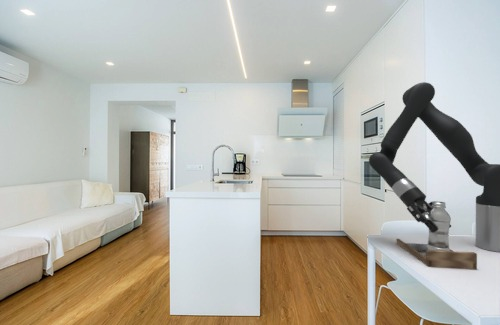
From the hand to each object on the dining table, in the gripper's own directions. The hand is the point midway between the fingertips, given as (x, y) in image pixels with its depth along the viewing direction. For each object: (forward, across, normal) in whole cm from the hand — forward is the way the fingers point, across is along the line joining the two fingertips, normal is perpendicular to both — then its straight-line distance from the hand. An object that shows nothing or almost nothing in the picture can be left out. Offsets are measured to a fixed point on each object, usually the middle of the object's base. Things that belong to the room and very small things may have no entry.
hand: (442, 229), depth 82 cm
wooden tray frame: (+4, +2, +11) cm, 12 cm away
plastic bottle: (+7, 0, +9) cm, 11 cm away
